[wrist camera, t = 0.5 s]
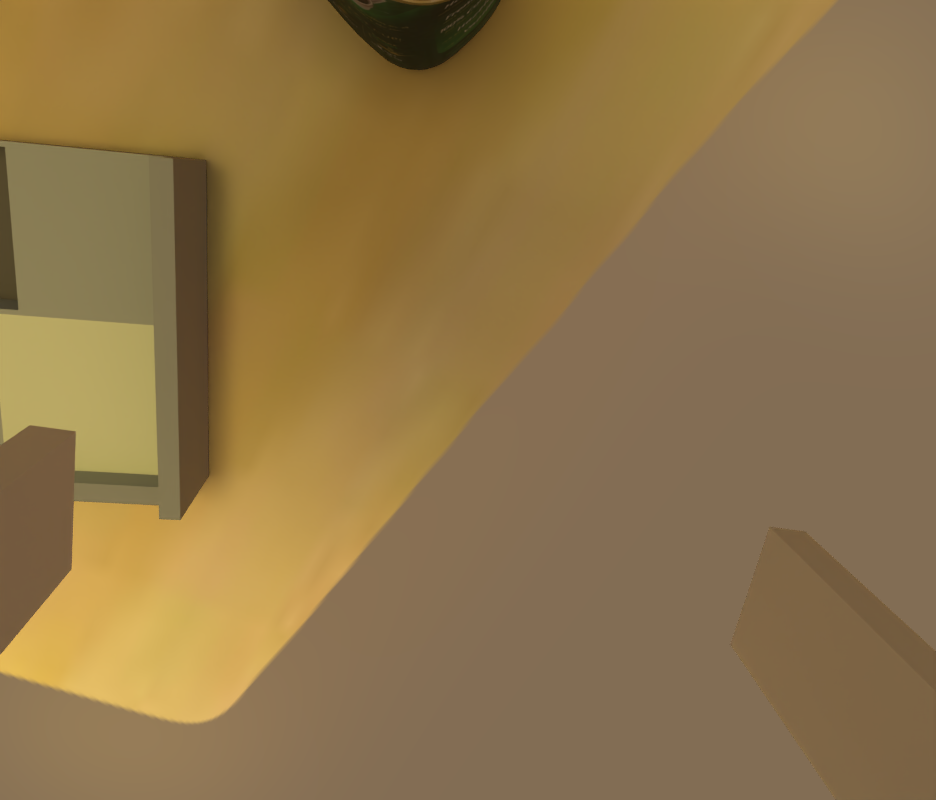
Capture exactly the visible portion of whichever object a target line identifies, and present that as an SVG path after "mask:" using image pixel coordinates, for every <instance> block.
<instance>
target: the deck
mask: <svg viewBox="0 0 936 800" xmlns="http://www.w3.org/2000/svg"><path fill="white" fill-rule="evenodd" d="M29 425H33V426H40V427H48V428H55V429H62V430H70V431H76V445H75V475H74V501H83V502H103V503H123V504H143V505H159V519H168V520H181V518H182V517H183V515H184V514H185V512H186V511H187V509H188V507H189V506H190V504H191V503H192V501H193V500H194V498H195V497H196V495H197V493H198V492H199V490H200V489H201V487H202V486H203V484H204V483H205V481H206V479H207V478H208V476H209V440H208V313H207V185H206V160H200V159H190V158H180V157H170V156H159V155H149V154H139V153H129V152H119V151H108V150H98V149H88V148H78V147H68V146H57V145H47V144H37V143H27V142H17V141H6V140H0V445H1V444H3V443H4V442H6V441H7V440H9V439H10V438H12V437H13V436H15V435H16V434H17V433H19V432H20V431H22V430H23V429H25V428H26V427H28V426H29Z"/></svg>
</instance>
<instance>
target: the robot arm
mask: <svg viewBox="0 0 936 800" xmlns="http://www.w3.org/2000/svg"><path fill="white" fill-rule="evenodd" d="M75 445H76V431H70V430H62V429H55V428H48V427H40V426H33V425H29V426H28V427H26V428H25V429H23V430H22V431H20V432H19V433H17V434H16V435H15V436H13V437H12V438H10V439H9V440H7V441H6V442H4V443H3V444H1V445H0V654H1V653H2V652H3V651H4V650H5V648H6V647H7V646H8V645H9V644H10V642H11V641H12V640H13V639H14V638H15V636H16V635H17V634H18V633H19V632H20V630H21V629H22V628H23V627H24V626H25V624H26V623H27V622H28V621H29V620H30V618H31V617H32V616H33V615H34V614H35V612H36V611H37V610H38V609H39V608H40V606H41V605H42V604H43V603H44V601H45V600H46V599H47V598H48V597H49V595H50V594H51V593H52V592H53V591H54V589H55V588H56V587H57V586H58V585H59V583H60V582H61V581H62V580H63V579H64V577H65V576H66V575H67V574H68V573H69V571H70V570H71V566H72V536H73V506H74V475H75ZM731 646H732V648H733V649H734V651H735V652H736V653H737V655H738V656H739V658H740V659H741V661H742V662H743V664H744V665H745V667H746V668H747V670H748V671H749V673H750V674H751V676H752V677H753V678H754V680H755V682H756V683H757V684H758V686H759V687H760V689H761V690H762V692H763V693H764V695H765V696H766V698H767V699H768V701H769V702H770V704H771V705H772V706H773V708H774V709H775V711H776V712H777V714H778V715H779V717H780V718H781V720H782V721H783V723H784V724H785V726H786V727H787V729H788V730H789V732H790V733H791V735H792V736H793V738H794V739H795V741H796V742H797V744H798V745H799V746H800V748H801V749H802V751H803V752H804V754H805V755H806V757H807V758H808V760H809V761H810V763H811V764H812V766H813V767H814V769H815V770H816V772H817V773H818V775H819V776H820V778H821V779H822V780H823V782H824V783H825V785H826V786H827V788H828V789H829V791H830V792H831V794H832V795H833V797H834V798H835V800H936V651H935V650H934V649H933V648H931V647H930V646H929V645H928V644H927V643H926V642H925V641H924V640H923V639H922V638H921V637H920V636H918V635H917V634H916V633H915V632H914V631H913V630H912V629H911V628H910V627H909V626H908V625H906V624H905V623H904V622H903V621H902V620H901V619H900V618H898V616H896V614H894V613H893V612H892V611H891V610H890V609H889V608H888V607H887V606H886V605H885V604H883V603H882V602H881V601H880V600H879V599H878V598H877V597H876V596H875V595H874V594H873V593H872V592H870V591H869V590H868V589H867V588H866V587H865V586H864V585H863V584H862V583H860V581H858V580H857V579H856V578H855V577H854V576H853V575H852V574H851V573H850V572H849V571H848V570H846V569H845V568H844V567H843V566H842V565H841V564H840V563H839V562H838V561H837V560H836V559H834V558H833V557H832V556H831V555H830V554H829V553H828V552H827V551H826V550H825V549H823V548H822V547H821V546H820V545H819V544H818V543H817V542H816V541H815V540H814V539H813V538H812V537H810V536H809V535H808V534H807V533H806V532H803V531H796V530H789V529H782V528H774V527H769V530H768V533H767V536H766V539H765V542H764V545H763V548H762V551H761V554H760V558H759V560H758V563H757V566H756V569H755V572H754V575H753V578H752V581H751V584H750V587H749V590H748V593H747V596H746V600H745V602H744V605H743V608H742V611H741V614H740V617H739V620H738V623H737V626H736V629H735V632H734V635H733V638H732V641H731Z"/></svg>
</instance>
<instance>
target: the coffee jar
mask: <svg viewBox="0 0 936 800" xmlns="http://www.w3.org/2000/svg"><path fill="white" fill-rule="evenodd" d="M328 1H329V2H330V3H331V4H332V6H333V7H334V8H335V9H336V10H337V11H338V13H339V14H340V15H341V16H342V17H343V18H344V20H345V21H346V22H347V23H348V24H349V25H350V26H351V27H352V28H353V29H354V30H355V31H356V32H357V34H358V35H360V36H361V37H362V38H363V39H364V40H365V41H366V42H367V43H368V44H369V45H370V46H371V47H372V48H374V49H375V50H376V51H377V52H378V53H379V54H380V55H382V56H383V57H384V58H385V59H387V60H388V61H390V62H391V63H393V64H395V65H397V66H400V67H403V68H407V69H413V70H422V69H428V68H431V67H435V66H437V65H439V64H441V63H443V62H444V61H446V60H447V59H449V58H450V57H452V56H453V55H454V54H456V53H457V52H458V51H459V50H460V49H461V48H462V47H463V46H464V45H465V44H466V43H467V42H469V41H470V40H471V39H472V38H473V37H474V36H475V34H476V33H477V32H478V31H479V30H480V29H481V28H482V27H483V26H484V24H485V23H486V22H487V21H488V19H489V18H490V17H491V15H492V14H493V12H494V11H495V9H496V7H497V6H498V4H499V2H500V0H328Z"/></svg>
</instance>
